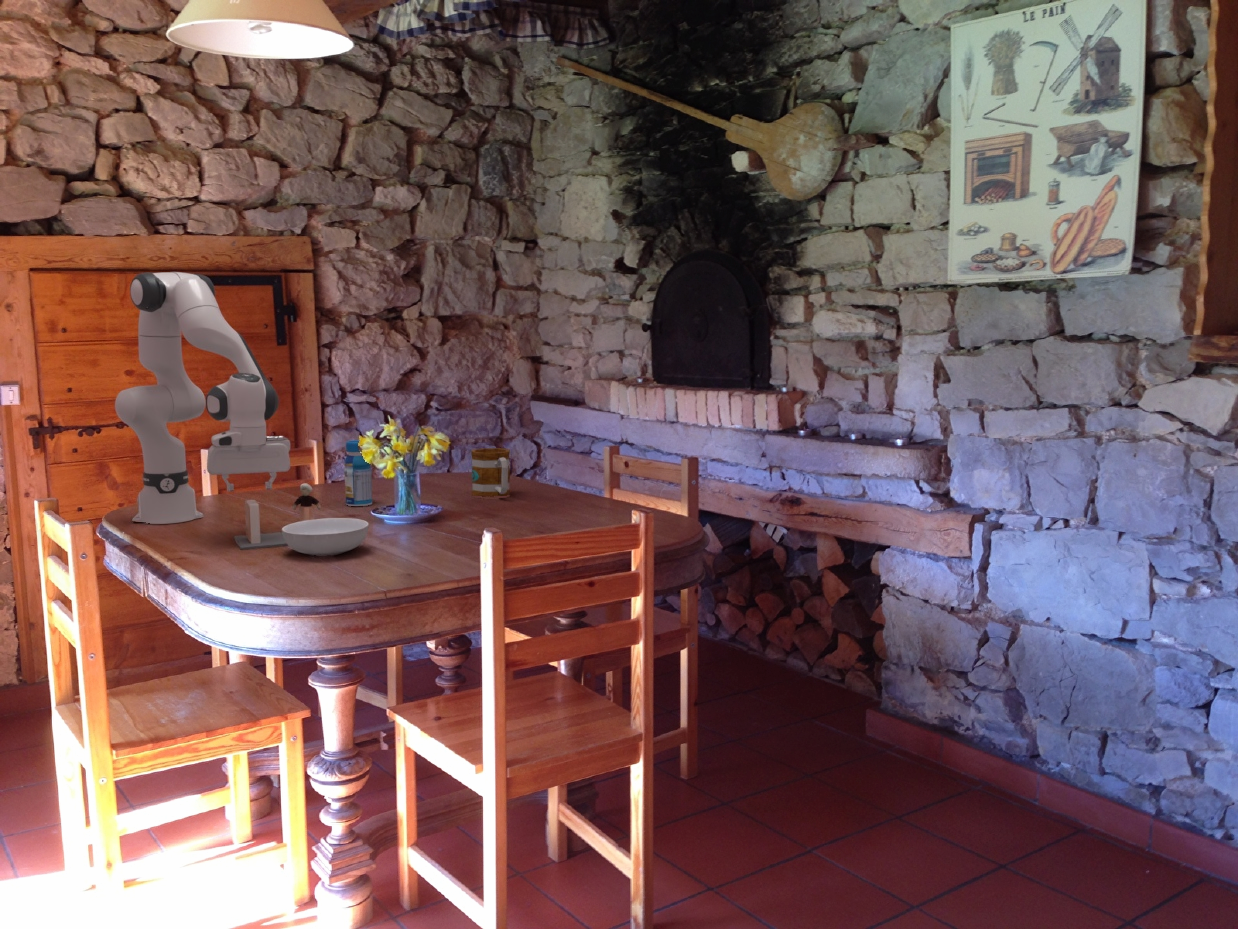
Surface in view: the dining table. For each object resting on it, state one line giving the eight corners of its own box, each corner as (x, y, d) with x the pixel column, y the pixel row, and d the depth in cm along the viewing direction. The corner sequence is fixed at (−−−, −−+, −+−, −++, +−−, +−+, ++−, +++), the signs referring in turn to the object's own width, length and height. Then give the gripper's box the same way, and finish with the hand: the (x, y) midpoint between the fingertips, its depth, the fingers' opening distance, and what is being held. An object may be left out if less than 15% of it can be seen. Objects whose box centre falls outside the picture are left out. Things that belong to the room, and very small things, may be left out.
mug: (464, 494, 345) (464, 449, 343) (502, 491, 351) (502, 447, 349) (486, 503, 328) (485, 456, 326) (525, 500, 334) (525, 454, 332)
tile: (246, 537, 273) (244, 500, 272) (256, 537, 274) (254, 499, 273) (250, 543, 266) (248, 505, 265) (260, 542, 267) (258, 504, 266)
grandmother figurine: (292, 530, 286) (291, 484, 284) (293, 527, 290) (291, 482, 288) (321, 528, 288) (320, 483, 286) (321, 526, 292) (320, 481, 290)
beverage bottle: (366, 507, 320) (364, 443, 317) (340, 506, 321) (338, 442, 318) (377, 502, 328) (375, 440, 325) (351, 502, 330) (349, 439, 327)
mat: (233, 538, 275) (233, 536, 275) (296, 533, 282) (296, 531, 282) (240, 549, 262) (240, 547, 262) (306, 543, 269) (306, 541, 269)
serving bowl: (336, 539, 275) (335, 514, 274) (386, 551, 262) (385, 524, 261) (266, 553, 259) (264, 526, 258) (315, 566, 246) (314, 537, 245)
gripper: (288, 434, 274) (289, 485, 276) (205, 436, 265) (207, 490, 267) (292, 437, 268) (293, 489, 270) (207, 440, 259) (209, 494, 261)
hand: (249, 490), depth 269 cm, fingers open, 8 cm apart
